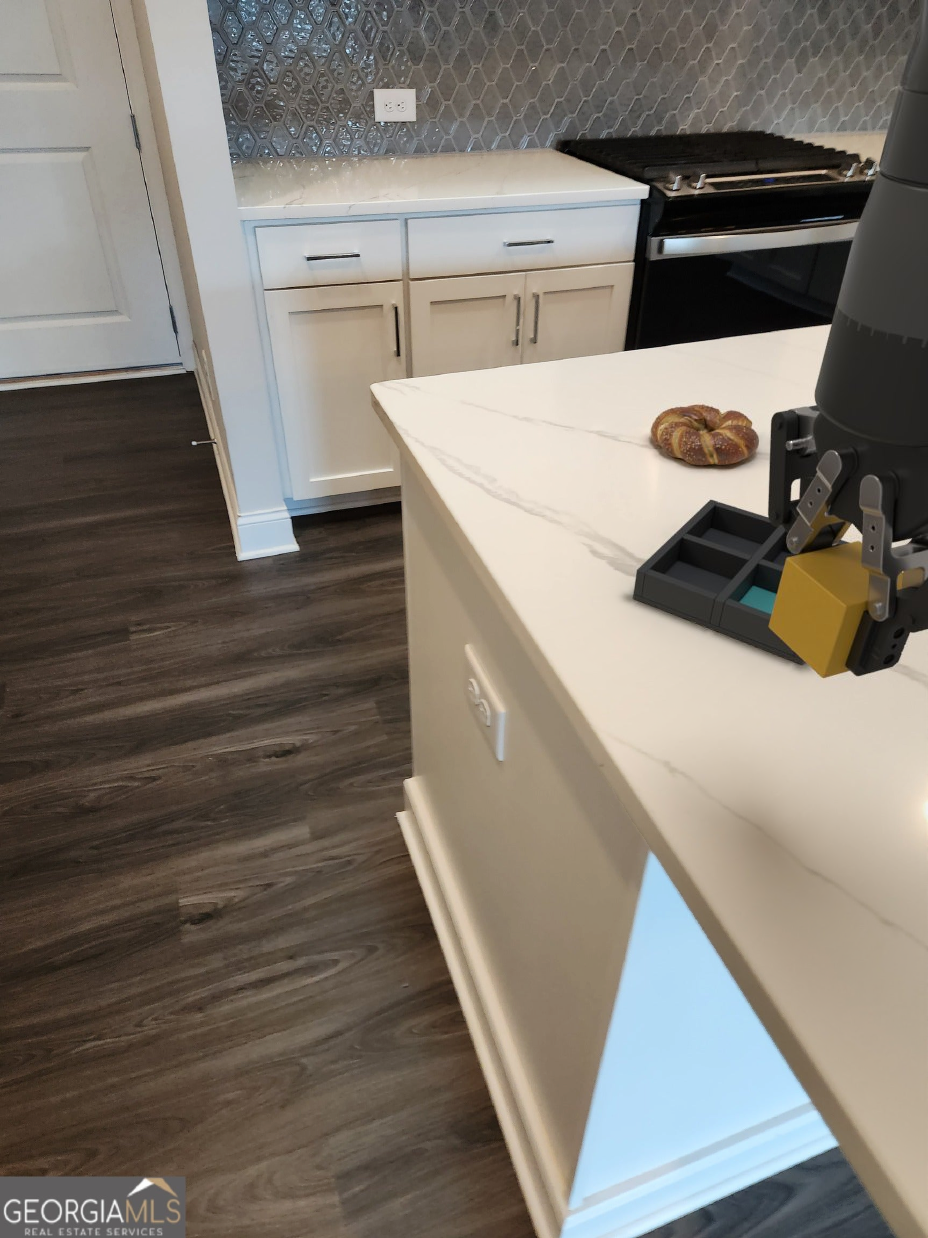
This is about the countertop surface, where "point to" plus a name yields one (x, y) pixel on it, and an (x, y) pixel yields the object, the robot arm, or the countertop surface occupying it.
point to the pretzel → (705, 435)
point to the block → (822, 605)
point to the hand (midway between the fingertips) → (831, 637)
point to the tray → (721, 575)
